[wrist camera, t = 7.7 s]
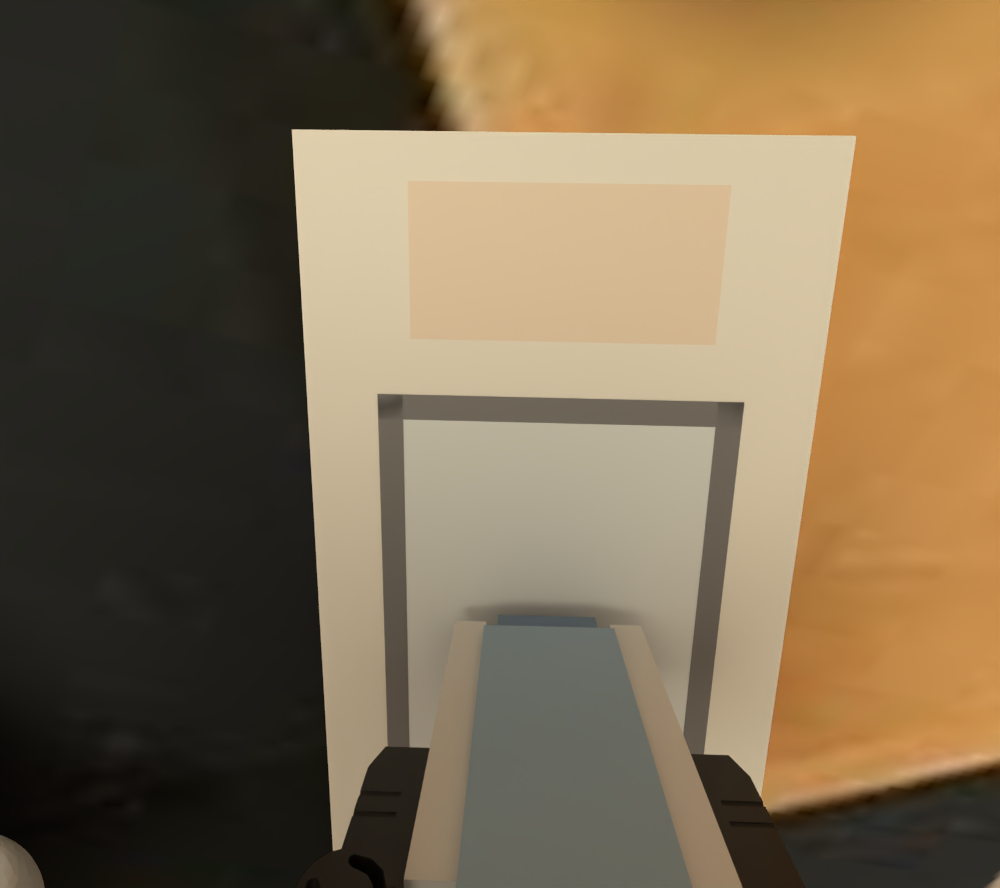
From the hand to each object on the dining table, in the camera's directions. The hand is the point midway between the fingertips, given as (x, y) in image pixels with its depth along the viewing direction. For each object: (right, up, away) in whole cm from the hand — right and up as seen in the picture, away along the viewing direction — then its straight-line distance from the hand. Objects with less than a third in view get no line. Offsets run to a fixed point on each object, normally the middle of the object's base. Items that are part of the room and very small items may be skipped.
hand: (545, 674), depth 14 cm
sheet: (0, +1, +1) cm, 1 cm away
